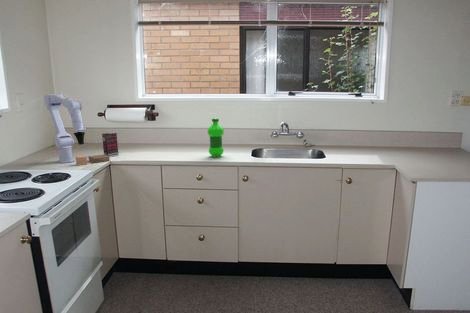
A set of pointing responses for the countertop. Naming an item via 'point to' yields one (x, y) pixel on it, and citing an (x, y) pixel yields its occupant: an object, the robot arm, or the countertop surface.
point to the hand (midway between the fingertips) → (81, 144)
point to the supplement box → (110, 144)
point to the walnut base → (99, 158)
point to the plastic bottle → (215, 138)
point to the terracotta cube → (81, 160)
